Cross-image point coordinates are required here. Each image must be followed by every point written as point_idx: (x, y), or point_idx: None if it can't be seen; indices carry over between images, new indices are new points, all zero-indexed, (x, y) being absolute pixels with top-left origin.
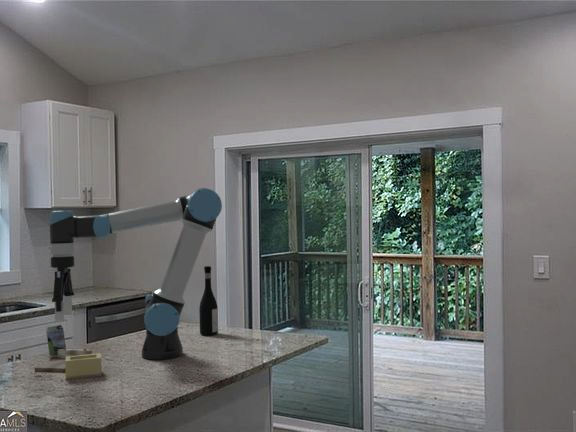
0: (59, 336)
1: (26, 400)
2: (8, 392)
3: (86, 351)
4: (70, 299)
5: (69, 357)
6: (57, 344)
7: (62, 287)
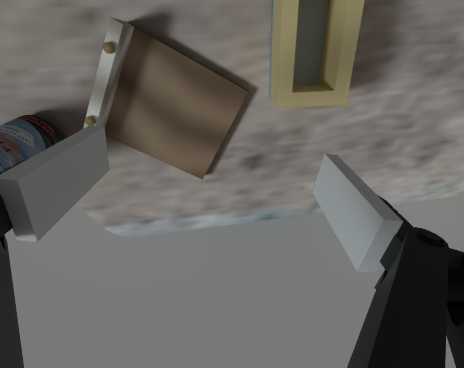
0: (10, 151)
1: (450, 164)
2: None
3: (120, 41)
4: (41, 173)
5: (298, 95)
6: (38, 148)
7: (434, 355)
